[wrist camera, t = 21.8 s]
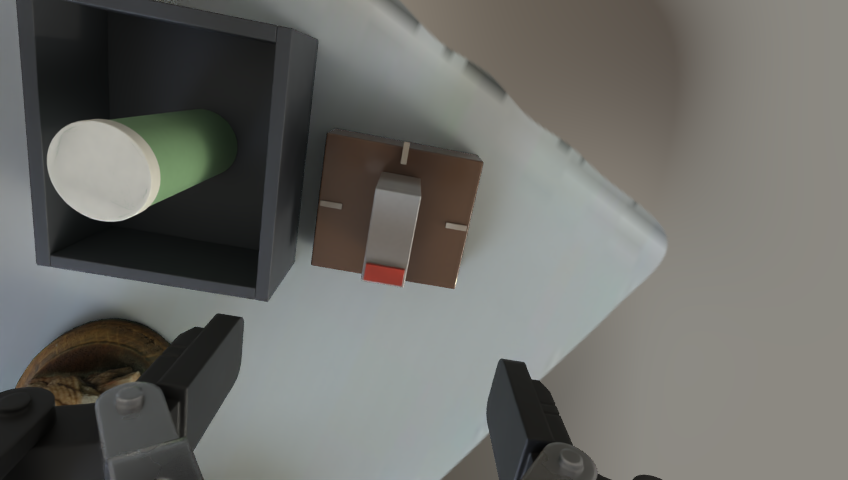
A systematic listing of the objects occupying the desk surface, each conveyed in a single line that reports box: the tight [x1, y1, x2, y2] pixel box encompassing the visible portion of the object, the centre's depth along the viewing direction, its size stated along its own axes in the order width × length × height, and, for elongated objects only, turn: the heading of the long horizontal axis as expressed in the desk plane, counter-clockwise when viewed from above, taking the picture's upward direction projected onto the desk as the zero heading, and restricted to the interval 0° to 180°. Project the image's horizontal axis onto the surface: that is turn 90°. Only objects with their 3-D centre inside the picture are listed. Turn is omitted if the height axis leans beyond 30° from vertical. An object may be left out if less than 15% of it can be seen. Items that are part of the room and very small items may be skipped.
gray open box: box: [16, 0, 318, 302], centre depth 29 cm, size 14×16×7 cm
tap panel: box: [311, 128, 483, 289], centre depth 32 cm, size 10×10×3 cm
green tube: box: [47, 109, 237, 222], centre depth 26 cm, size 5×5×11 cm
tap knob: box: [361, 172, 421, 288], centre depth 28 cm, size 6×2×5 cm, turn 169°
